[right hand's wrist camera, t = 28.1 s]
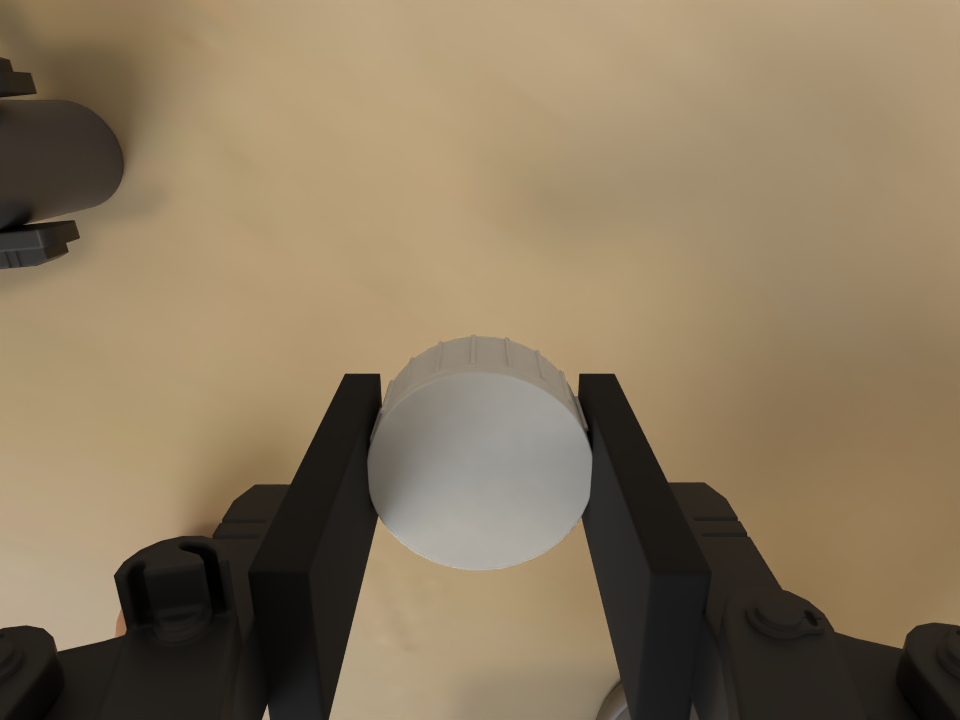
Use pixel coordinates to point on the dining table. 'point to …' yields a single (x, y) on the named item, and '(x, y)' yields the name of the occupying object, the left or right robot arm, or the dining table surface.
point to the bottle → (53, 160)
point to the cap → (480, 455)
